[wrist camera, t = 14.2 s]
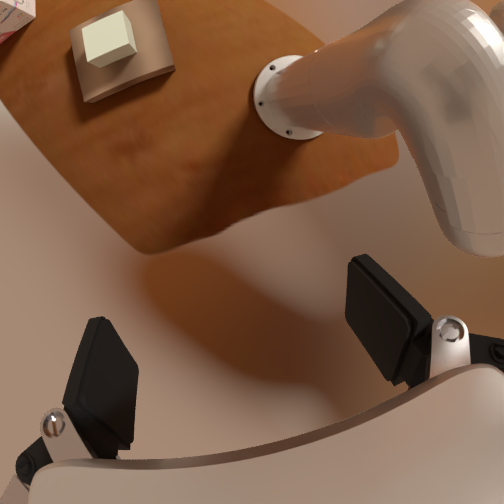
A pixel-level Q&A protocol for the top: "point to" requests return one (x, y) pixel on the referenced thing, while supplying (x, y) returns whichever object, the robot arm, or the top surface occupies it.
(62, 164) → the top surface
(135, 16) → the walnut block
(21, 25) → the ink cartridge box
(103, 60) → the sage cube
